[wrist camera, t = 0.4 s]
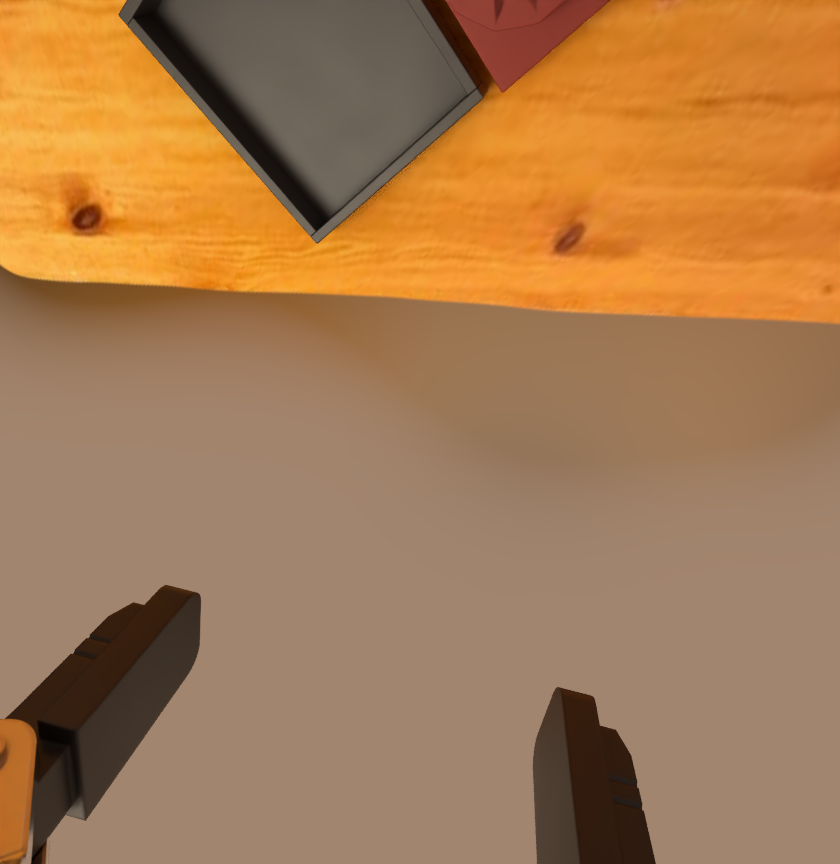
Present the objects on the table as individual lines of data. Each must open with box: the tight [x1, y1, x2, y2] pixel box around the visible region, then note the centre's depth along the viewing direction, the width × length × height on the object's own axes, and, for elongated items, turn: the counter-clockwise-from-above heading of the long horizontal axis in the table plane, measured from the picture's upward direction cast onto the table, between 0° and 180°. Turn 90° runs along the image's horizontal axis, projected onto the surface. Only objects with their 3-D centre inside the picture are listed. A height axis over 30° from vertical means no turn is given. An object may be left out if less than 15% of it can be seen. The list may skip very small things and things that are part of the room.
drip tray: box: [119, 0, 487, 243], centre depth 30 cm, size 15×13×3 cm
